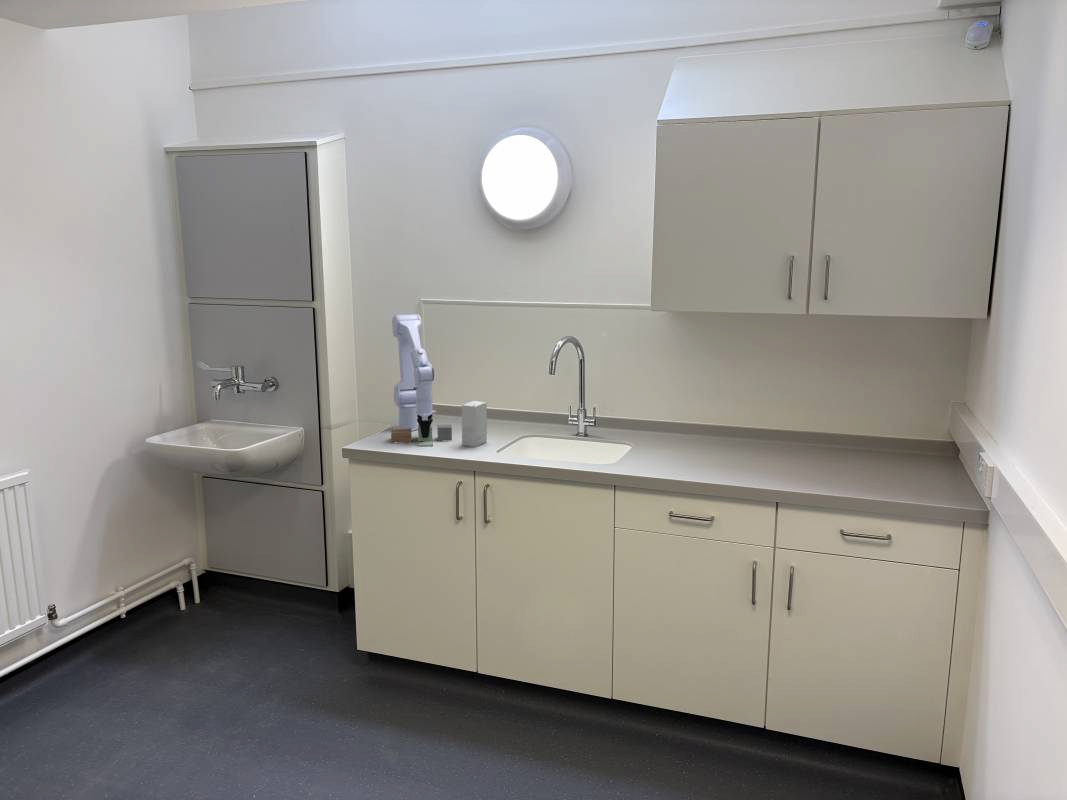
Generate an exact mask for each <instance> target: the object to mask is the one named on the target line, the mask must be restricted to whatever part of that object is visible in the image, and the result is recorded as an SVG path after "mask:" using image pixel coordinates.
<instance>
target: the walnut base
mask: <svg viewBox="0 0 1067 800" xmlns="http://www.w3.org/2000/svg"><path fill="white" fill-rule="evenodd" d="M412 438H413V437H412V431H411V428H399V429H395V428H391V432H390V440H391V441H390V443H391V444H396V443H395V442H411V443H412V440H411V439H412Z"/></svg>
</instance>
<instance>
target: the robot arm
mask: <svg viewBox="0 0 1067 800" xmlns="http://www.w3.org/2000/svg"><path fill="white" fill-rule="evenodd" d="M391 327H392V334H393V337H395V338H397V339H396V340H397V344H398V358H399V371H400V372H399V373H400V374H399V375H400V381H398V383H396V384H395V386H394V387H393V402H394V404H395V406H397V407H398V425H399V426H397V427H394V429H399V428H411V432H413V431H417V430H418V425H419V426H420V429H421V434H422V438H428V437H429V431H430V426H431V425H432V423H433V414H437V411H436V410H435V409H434V408H433V406H434V405H433V382H434V380H435V369H434V367H433V365H432V363H431V362H429V359H428V356H427V352H426V349H424V348H422V344H421V339H420V334H419V333H420V331H421V328H422V318H421V316H420V314H418V313H416V314H415V313H414V314H394V315H393V317H392V321H391ZM433 409H434V410H433Z"/></svg>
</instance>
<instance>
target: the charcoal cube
mask: <svg viewBox="0 0 1067 800" xmlns="http://www.w3.org/2000/svg"><path fill="white" fill-rule="evenodd" d="M436 425H437V426H436V427H437V430H436V431H437V442H442V441H441V440H452V441H453V431H452V430H453V429H452V428H453V427H452V424H451V423H449V424H436Z"/></svg>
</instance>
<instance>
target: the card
mask: <svg viewBox="0 0 1067 800" xmlns="http://www.w3.org/2000/svg"><path fill="white" fill-rule="evenodd" d="M419 446H420V447H433V446H434V441H433V440H432V441H423V442H418V447H419Z"/></svg>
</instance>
